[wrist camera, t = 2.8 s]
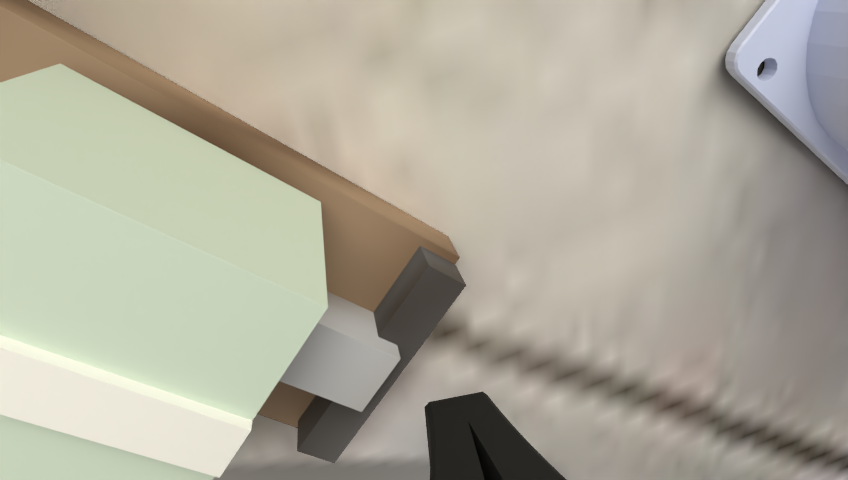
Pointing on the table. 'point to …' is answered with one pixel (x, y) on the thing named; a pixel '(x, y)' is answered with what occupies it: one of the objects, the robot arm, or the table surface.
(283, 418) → the rail
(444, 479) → the robot arm
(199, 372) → the carriage
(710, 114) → the table surface
